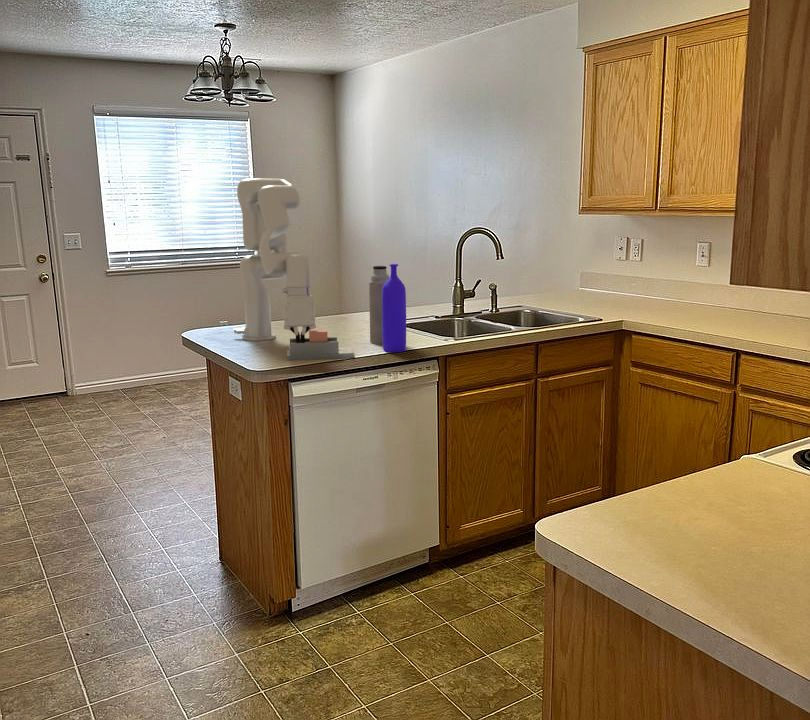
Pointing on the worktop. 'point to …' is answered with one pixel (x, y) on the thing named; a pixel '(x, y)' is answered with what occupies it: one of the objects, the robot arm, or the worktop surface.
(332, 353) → the chute
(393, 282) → the bottle
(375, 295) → the thermos bottle
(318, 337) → the block
